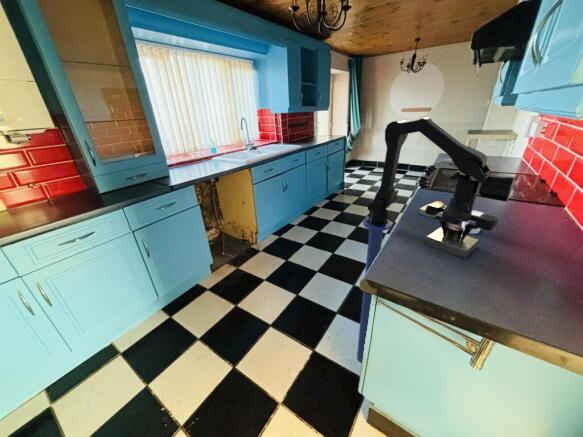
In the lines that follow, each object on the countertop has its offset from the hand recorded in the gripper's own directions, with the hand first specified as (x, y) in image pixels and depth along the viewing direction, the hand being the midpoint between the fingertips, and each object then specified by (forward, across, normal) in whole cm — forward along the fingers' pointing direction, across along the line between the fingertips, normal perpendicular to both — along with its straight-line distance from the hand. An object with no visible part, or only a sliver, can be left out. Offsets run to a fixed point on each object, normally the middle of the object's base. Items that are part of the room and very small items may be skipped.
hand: (453, 238), depth 80 cm
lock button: (-1, -15, +23) cm, 28 cm away
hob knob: (0, 0, 0) cm, 0 cm away
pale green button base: (+3, -15, +23) cm, 28 cm away
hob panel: (+3, 0, 0) cm, 3 cm away
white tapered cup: (+3, 0, +17) cm, 17 cm away
